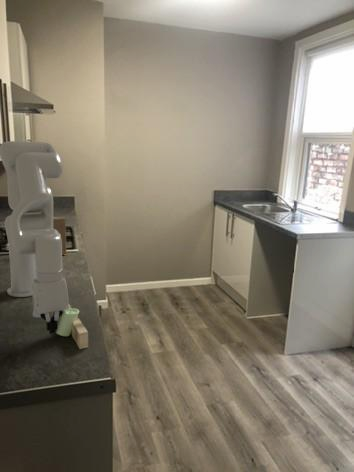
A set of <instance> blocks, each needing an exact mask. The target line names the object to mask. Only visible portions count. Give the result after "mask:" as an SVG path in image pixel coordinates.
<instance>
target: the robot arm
mask: <svg viewBox="0 0 354 472" xmlns="http://www.w3.org/2000/svg"><path fill="white" fill-rule="evenodd" d="M0 160H1V162H2V165H3V167H4V170H5V172H6V178H7V198H8V199H7V201H8V202H7V203H8V205H9V208H10V209H11V210H13V211H12V213H11V214H10V215H8V216H7V217H5V220H4V228H5V233H6V238H7V244H8V252H9V253H8V255H9V271H10V285H11V286H10V287H8V288H7V290H6V293H7V295H9V296H11V297H14V298H25V297H27V298H28V297H32V300H31V302H32V309H33V311H32V317H33V318H41V319H43V320H45V321H46V322H45V325H46V331H48V332H49V334H51V335H52V334H57V333H56V329H57V323H58V320H59V318H60V316H61V315H62V314H63V312H65V313H66V312H68V311H69V307H68V306H69V305H70V301H69V292H68V291H69V290H68V285H67V281H66V277H65V275H68V273H69V272H68V269H64V267H63V265H64V264H63V263H64V262H63V256H62V239H61V235H60V233H58V231H57V230H55V229H53V217H54V196H53V191H52V190H51V188H50V187H49V186H48V182H47V179H59V178H60V177H61V176H62V175H63V168H64V167H63V162H62V159H61V156H60V154H59V153H58V152H57V149H55V147H53V144H51V143H49V142H40V141H21V140H20V141H19V140H18V141H17V140H15V141H14V140H11V141H9V140H8V141H5V142H2V143H1V144H0ZM30 211H32V212H30ZM33 211H34V212H33ZM35 211H40V212H35ZM50 313H52V316H50Z"/></svg>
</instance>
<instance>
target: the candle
mask: <svg viewBox="0 0 354 472" xmlns="http://www.w3.org/2000/svg"><path fill="white" fill-rule="evenodd" d="M79 314H80V310H79V309H77V308H76V307H75V308H73V307H71V308H69V311H68V312H66V313H65V312H63V314H62V315H61V316H60V317H59V318H58V320H57V329H56V333H55V334H57V335H59V336H62V337H69V336H70V335H71V331H72V322H74V321H76V319H77V316H79Z"/></svg>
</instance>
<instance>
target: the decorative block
mask: <svg viewBox="0 0 354 472" xmlns="http://www.w3.org/2000/svg"><path fill="white" fill-rule="evenodd" d="M66 221H67V219H66V217H64V216H53V229H55V230H57V231H58V233H60V235H61V239H62V255H63V256H65V255H64V254H66V255H67V227H66V225H67V224H66V223H67V222H66Z"/></svg>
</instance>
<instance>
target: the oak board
mask: <svg viewBox="0 0 354 472" xmlns="http://www.w3.org/2000/svg"><path fill="white" fill-rule="evenodd" d="M68 307H69V308H72V306H71V305H70V304H69V306H68ZM78 316H79V315H78ZM78 316H77V319H76V321H74V322H72V331H71V334H70V335H71V336H72V338H73V340H74V341H75V344H76V346H77V347H78V348H79V350H82V349H86V348H89V331H88V330H87V328H86V327H85V326H84V324H83V322H82V321H81V319H80V318H79V317H78Z"/></svg>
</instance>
